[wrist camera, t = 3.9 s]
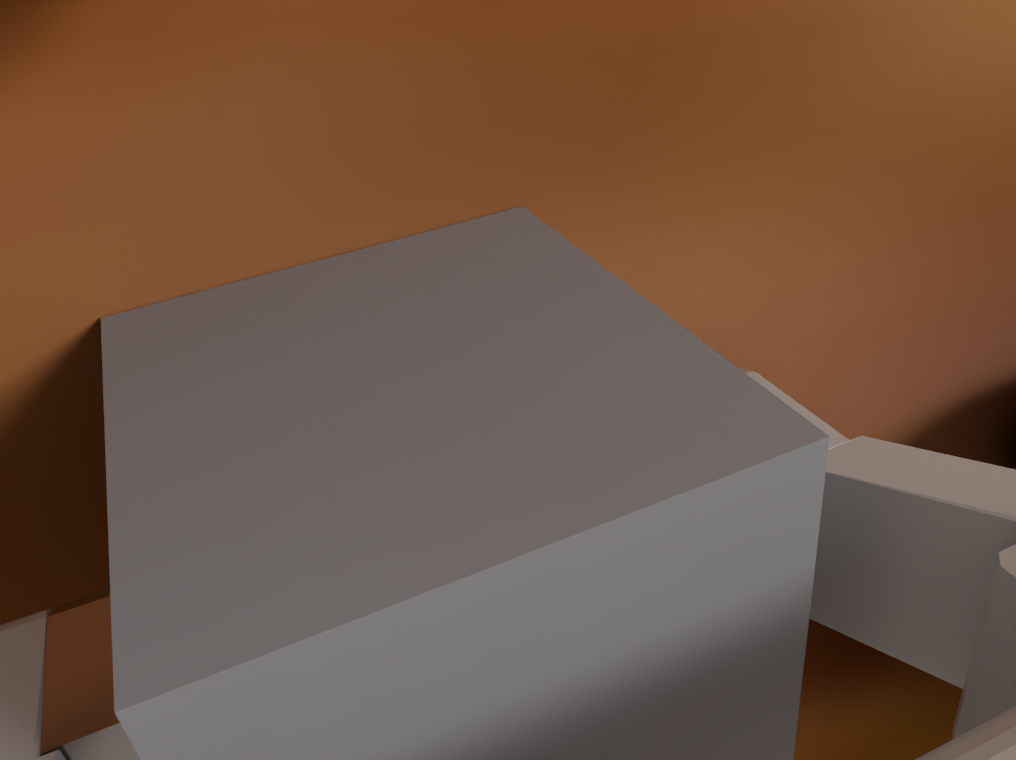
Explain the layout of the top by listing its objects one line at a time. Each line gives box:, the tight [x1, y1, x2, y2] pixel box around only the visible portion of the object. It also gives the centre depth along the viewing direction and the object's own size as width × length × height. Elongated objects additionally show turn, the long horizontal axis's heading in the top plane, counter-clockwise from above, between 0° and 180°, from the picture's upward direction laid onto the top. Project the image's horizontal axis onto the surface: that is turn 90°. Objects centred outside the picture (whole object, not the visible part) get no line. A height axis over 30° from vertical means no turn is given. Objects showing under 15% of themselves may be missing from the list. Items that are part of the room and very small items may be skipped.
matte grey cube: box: [101, 207, 830, 760], centre depth 8 cm, size 4×4×5 cm
